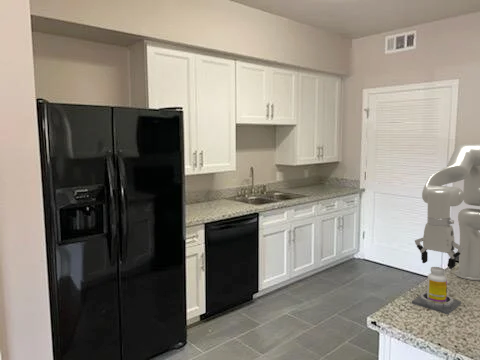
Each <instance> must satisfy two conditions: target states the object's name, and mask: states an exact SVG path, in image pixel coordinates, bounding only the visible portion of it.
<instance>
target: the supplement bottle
mask: <svg viewBox="0 0 480 360" xmlns="http://www.w3.org/2000/svg"><path fill="white" fill-rule="evenodd" d="M426 282H427V287H426V288H427V289H426V292H427V299H428V300H431V301H434V302H442V303H443V302H446V299H447V295H448V293H447V292H448V290H447V289H448V277H447V276H446V275H445V269H444V268H443V267H440V266H432V267H430V273H428V275H427V281H426Z"/></svg>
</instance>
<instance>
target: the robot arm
mask: <svg viewBox="0 0 480 360" xmlns="http://www.w3.org/2000/svg"><path fill="white" fill-rule="evenodd" d="M462 180H463V190H462V189H461V188H459V187H457V186H447V185H449V184H452V183H456V182H461V181H462ZM421 198H422V201H423V202H424V203H426V204H427V220H426V222H427V223H425V224H424V225H425V226H424V230H423V237H420V238H418V239H417V238H416V239H415V240H414V243H415V245H416V248H417V249H418V250H419V252H420V253H421V262H422V264H425V263H427V262H428V261H429V260H428V259H429V257H428V251H433V252H440V253H444V254H447V256H449V257H450V258H449V259H448V268H449V269H450V270H452V269H454V268H455V267H456V262H457V261H456V258H457V257H458V269H456V270H455V271H454V275H455V276H456V277H458V278H461V279H465V280H469V281H480V208H471V207H470V208H469V207H467V208H462V209H461V210H459V212H458V215H457V220H458V221H457V222H458V226H459V227H458V228H459V244H458V243H457V242H456V241H455V240H456V239H455V232H454V227H453V225H454V224H455V220H454V219H451V207H458V206H459V205H461V204H462V203H463V202H464V204H466V205H468V206H475V207H480V143H476V144H475V143H464V144H460V145H457V147H455V149H454V151H453V153H452V154H451V156H450V158H449V161H448V163H447V165H446V167H443V168H441V169H439V170H437V171H436V172H434V173H433V174H432V175H430V177H428V178H427V180H426V183H425V185H424V187H423V189H422V191H421ZM421 243H422V244H421ZM455 249H457V251H456V252H455V251H454V250H455Z"/></svg>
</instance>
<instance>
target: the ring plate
mask: <svg viewBox="0 0 480 360" xmlns="http://www.w3.org/2000/svg"><path fill="white" fill-rule="evenodd" d="M411 304H413V305H416V306H419V307H422V308H425V309H429V310H432V311H436V312H438V313H443V314H445V315H450V314H451V313H452V312H454V310H456V309H457V308H458V307H459V306H460V305H461V304H462V300H458V299H455V298H453V297H452V296H450V295H448V294H447V299H446V302H443V303H442V302H434V301H431V300H428V299H427V291H424V292H422V293H420V295H419V296H417V297H416V298H415V299H412V300H411Z"/></svg>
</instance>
